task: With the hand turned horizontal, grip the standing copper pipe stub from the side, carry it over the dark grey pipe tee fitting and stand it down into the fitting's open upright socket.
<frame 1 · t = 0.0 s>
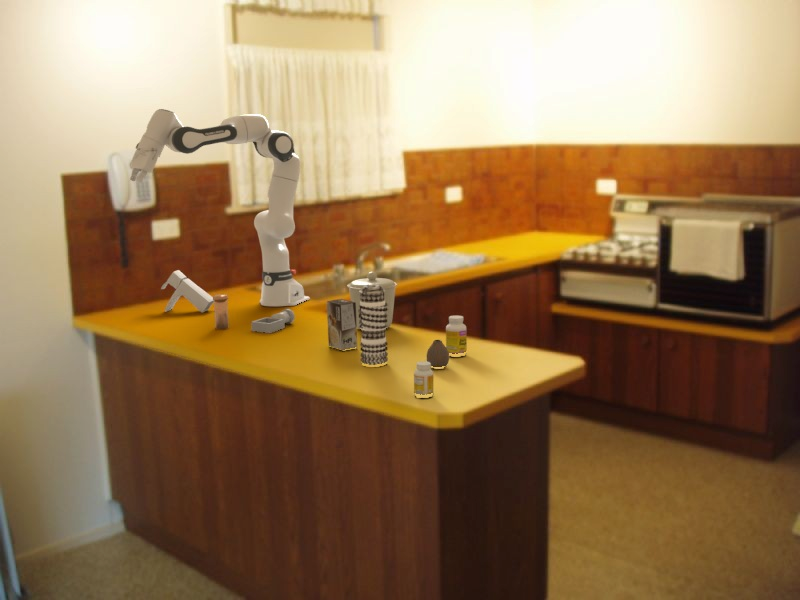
hand: (135, 181, 357), 54 cm above the worktop, tool tilted 30°, fingers open, 8 cm apart
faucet: (188, 311, 384), on the worktop
canister: (373, 329, 345), on the worktop
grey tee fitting: (268, 329, 346), on the worktop
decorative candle: (374, 364, 295), on the worktop
copper pipe stub: (222, 327, 351), on the worktop
vase: (437, 368, 289), on the worktop
coffee box: (342, 348, 316), on the worktop
supplement bottle 2: (456, 356, 303), on the worktop
supplement bottle: (424, 397, 259), on the worktop
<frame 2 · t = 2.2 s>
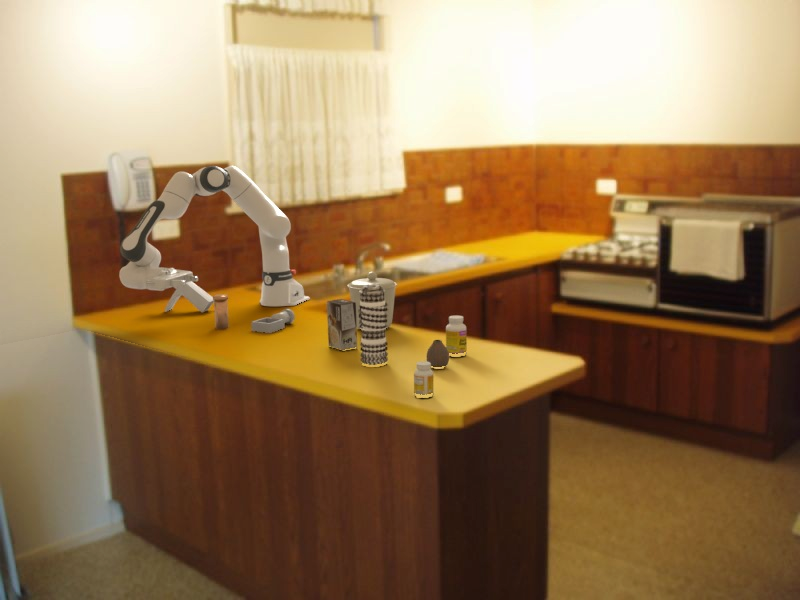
hand: (190, 281, 352), 17 cm above the worktop, tool horizontal, fingers open, 8 cm apart
nothing on the worktop moved.
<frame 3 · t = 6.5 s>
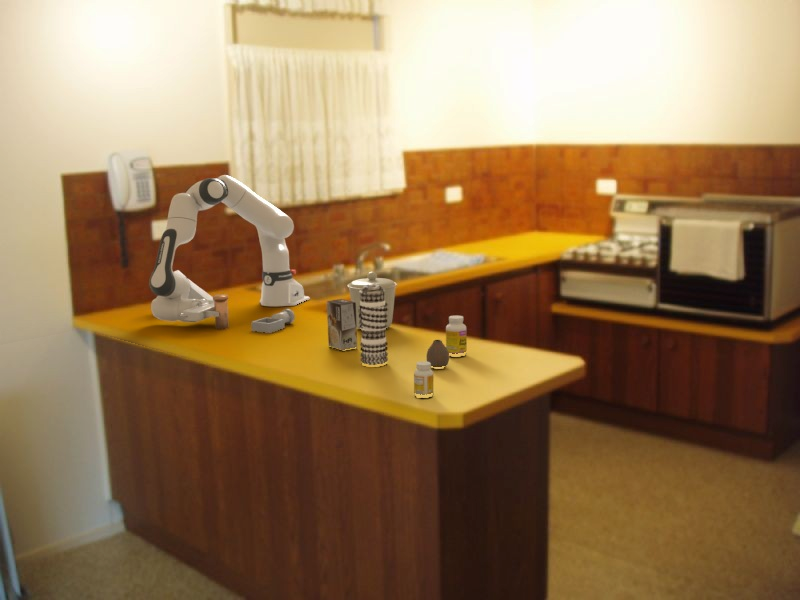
hand: (223, 312, 350), 6 cm above the worktop, tool horizontal, fingers closed on copper pipe stub, 5 cm apart
copper pipe stub: (222, 327, 351), on the worktop, touching gripper
everything else where it was.
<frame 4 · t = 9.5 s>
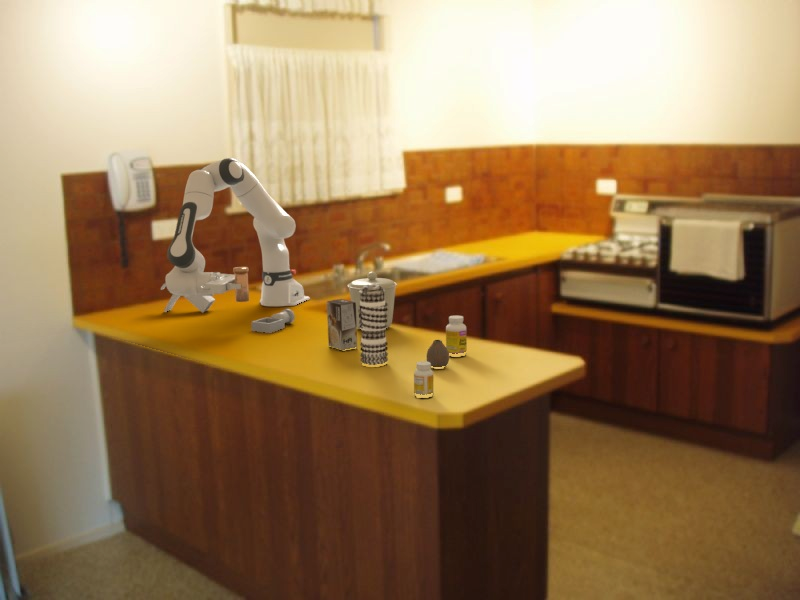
hand: (244, 284, 344), 17 cm above the worktop, tool horizontal, fingers closed on copper pipe stub, 5 cm apart
copper pipe stub: (242, 300, 346), point 11 cm above the worktop, touching gripper
everything else where it was.
when the fingers open (8 cm above the worktop, at t = 12.8 s): copper pipe stub drops 2 cm, resting in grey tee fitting.
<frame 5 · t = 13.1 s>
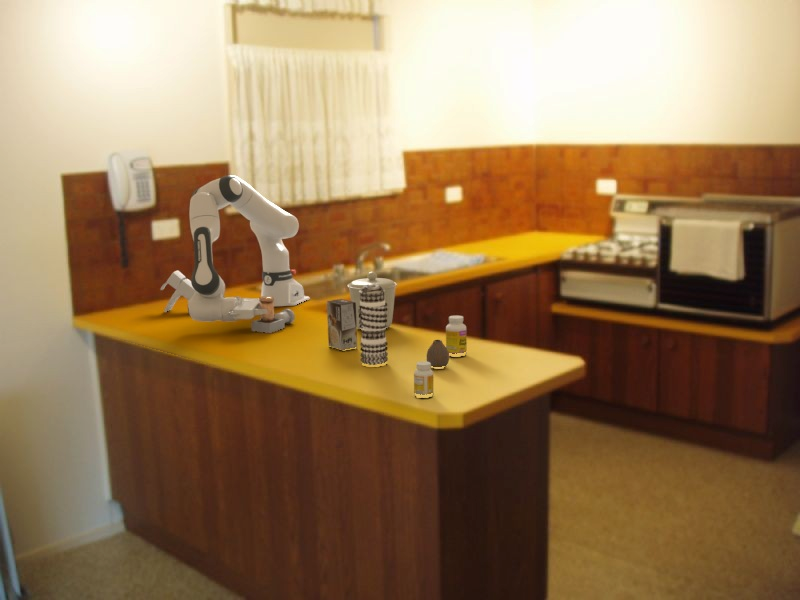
hand: (269, 308, 345), 8 cm above the worktop, tool horizontal, fingers open, 8 cm apart
copper pipe stub: (268, 329, 346), resting in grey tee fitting
everything else where it was.
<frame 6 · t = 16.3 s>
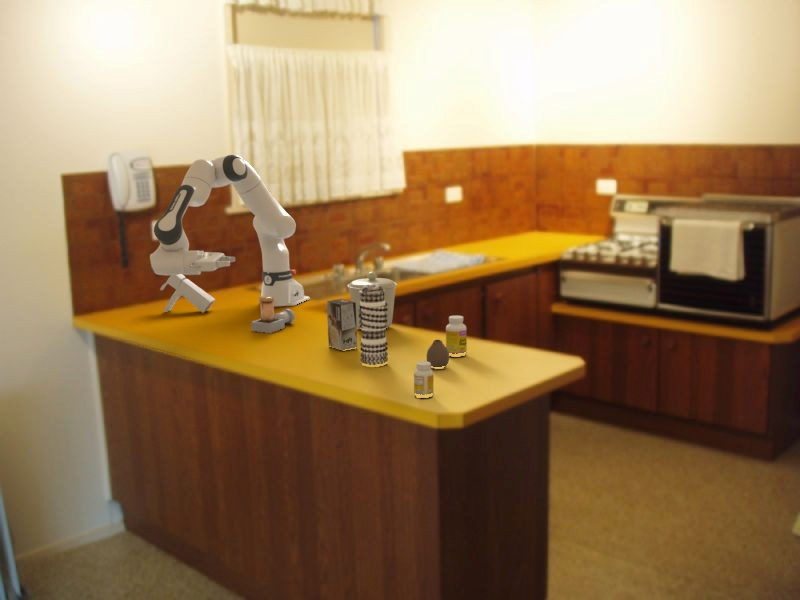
hand: (232, 261, 342), 26 cm above the worktop, tool horizontal, fingers open, 8 cm apart
nothing on the worktop moved.
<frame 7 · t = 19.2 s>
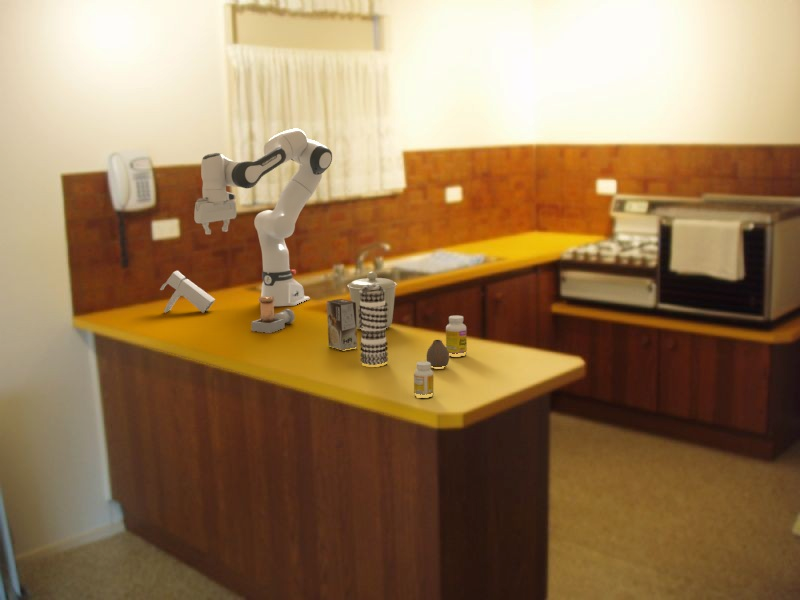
hand: (216, 232, 359), 34 cm above the worktop, tool pointing down, fingers open, 8 cm apart
at the end: copper pipe stub 0.0 cm off-centre on the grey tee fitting, point 0.0 cm above the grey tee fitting's base; copper pipe stub tilted 0°; the gripper is holding nothing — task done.
